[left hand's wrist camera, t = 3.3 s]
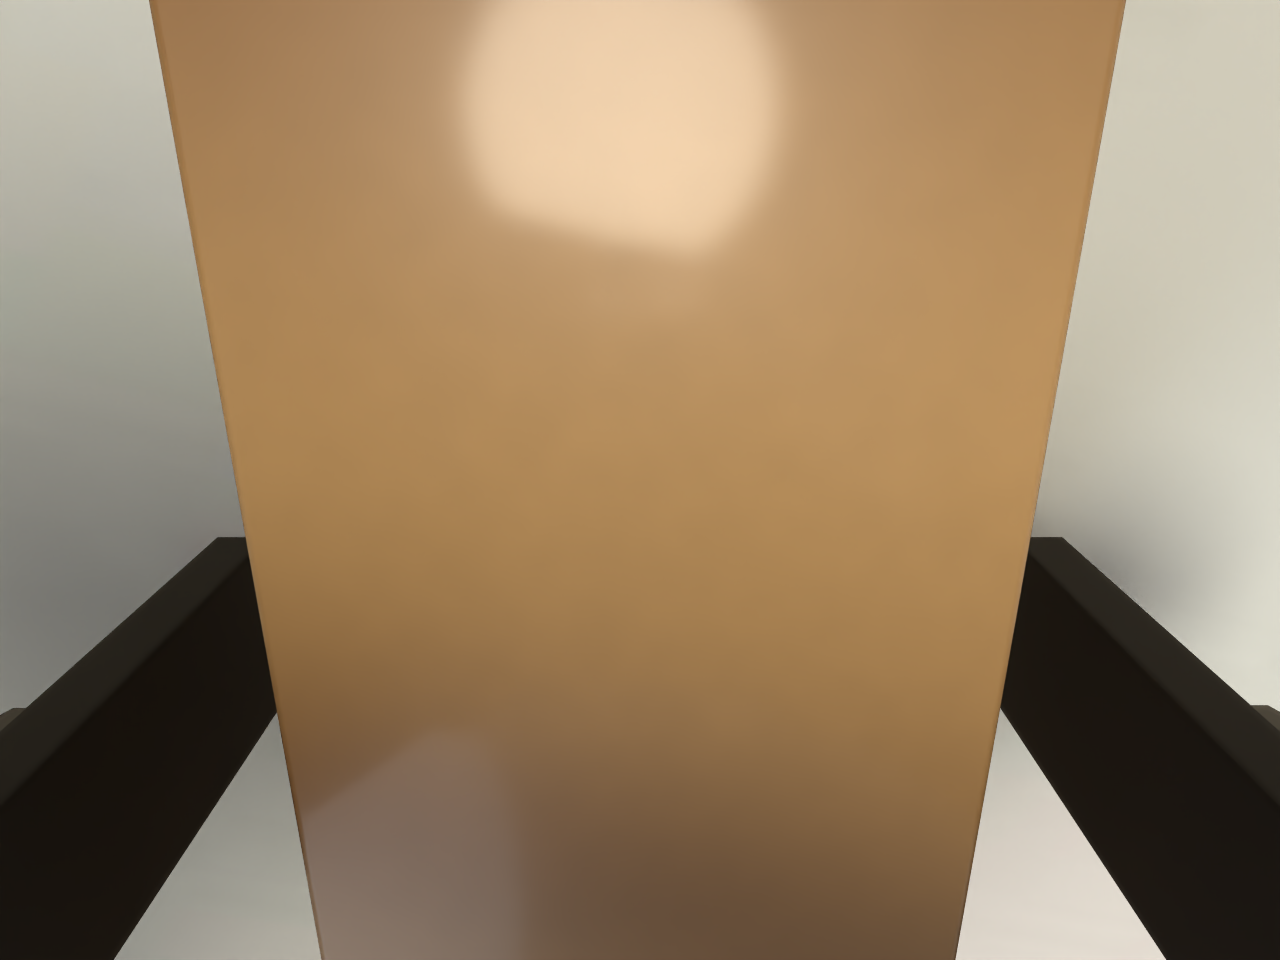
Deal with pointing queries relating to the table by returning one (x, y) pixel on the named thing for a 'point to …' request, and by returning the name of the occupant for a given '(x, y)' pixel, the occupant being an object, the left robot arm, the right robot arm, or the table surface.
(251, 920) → the table surface
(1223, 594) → the table surface
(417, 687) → the beam
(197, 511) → the table surface
